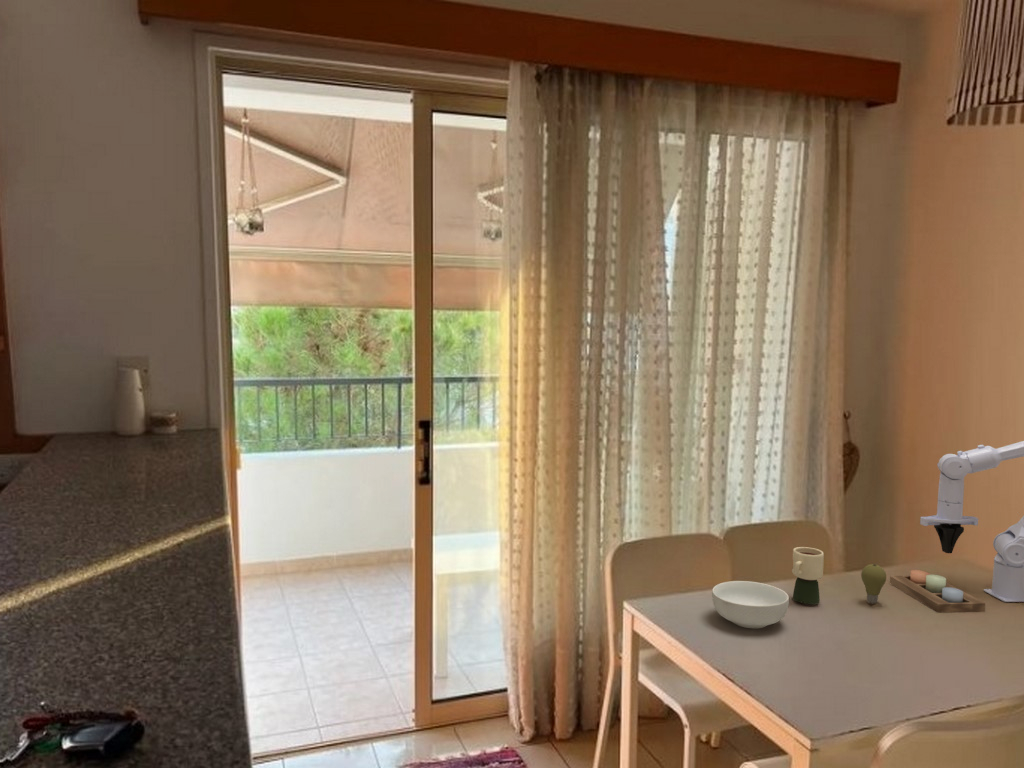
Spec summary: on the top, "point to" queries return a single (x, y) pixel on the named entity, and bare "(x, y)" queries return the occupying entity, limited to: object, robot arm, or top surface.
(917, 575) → the orange rounded lump
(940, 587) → the sage button
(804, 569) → the character mug
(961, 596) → the grey rounded piece
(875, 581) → the light bulb
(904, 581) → the wooden compartment tray
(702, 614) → the top surface
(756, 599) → the cereal bowl
